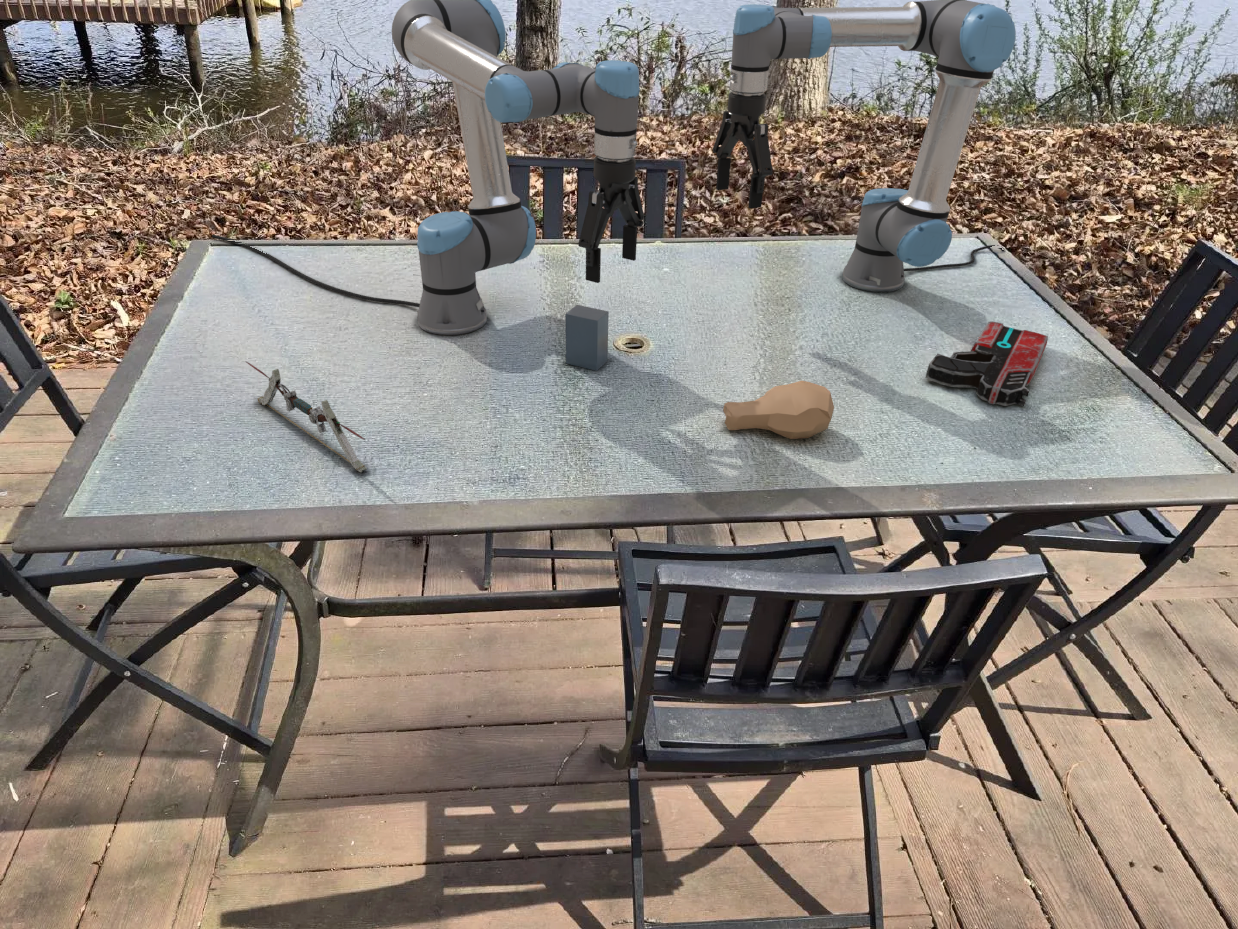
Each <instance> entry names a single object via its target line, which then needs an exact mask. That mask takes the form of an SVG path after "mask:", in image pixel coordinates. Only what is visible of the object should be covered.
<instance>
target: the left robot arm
mask: <svg viewBox="0 0 1238 929" xmlns="http://www.w3.org/2000/svg"><path fill="white" fill-rule="evenodd" d="M391 39H392V43H393V45H394V48H395V49H396V51H397V53H398V54H399V55H400V56H401V58H403V59H404V60H405V61H406V62H407V63H409V64H410V65H412V66H413V67H415V68H417V69H420V70H424V71H427V70H431V71H433V72H435V73H437V74H439V75H441V76H442V77H443V78H446V79H447V80H448V81H450V82H452V88H453V94H454V98H455V104H456V111H457V116H458V121H459V127H460V132H461V137H462V143H463V148H464V155H465V160H466V167H467V171H468V175H469V182H470V187H471V188H470V189H471V193H472V200H471V201H470V202H469V204H468V205H467V210H468V213H467V212H464V211H457V210H453V211H452V210H451V211H449V212H448V211H443V212H438V213H434V214H432V215H429V216H427V217H426V218H424V219H423V220H422V221H421V222H420V224H419V226H418V227H417V230H416V231H417V232H416V233H417V238H416V239H417V242H416V246H417V247H416V248H417V250H418V258H419V259H418V260H419V267H420V275H421V276H420V278H421V284H422V292H421V297H420V302H419V303H418V302H413V301H408V300H401V299H392V298H391V299H390V298H383V297H382V298H381V297H374V296H369V295H363V294H359V293H355V292H352V291H349V290H345V289H342V288H339V287H335V286H332V285H329V284H327V283H325V282H322V281H319V280H317V279H315V278H313V277H310V276H309V275H306V274H304V273H303V272H301V271H299V270H297V269H295V268H293V267H292V266H290V265H288V264H287V263H285V262H284V261H282V260H280V259H278V258H277V257H275V256H274V255H272V254H270V253H268V252H266V254H265V253H263V251H264V250H262V252H261V251H259V250H257V249H255V248H256V247H255V248H252V247H250V246H247V245H245V244H246V243H245V244H240V245H239V246H242V247H244V248H247V249H249V250H251V251H254V252H256V253H258V254H260V255H262V256H264V257H266V258H268V259H270V260H272V261H273V262H275V263H276V264H278V265H279V266H282V267H283V268H285V269H286V270H289V271H290V272H292V273H293V274H295V275H297V276H298V277H300V278H302V279H304V280H306V281H308V282H310V283H313V284H314V285H317V286H319V287H321V288H324V289H327V290H329V291H332V292H336V293H339V294H341V295H346V296H349V297H352V298H357V299H359V300H360V299H361V300H364V301H370V302H376V303H385V304H394V305H396V304H397V305H403V306H409V307H414V308H418V310H417V317H416V318H417V325H418V326H419V328H420V329H421V330H423V331H424V332H427V333H430V334H433V335H440V336H459V335H465V334H469V333H473V332H476V331H477V330H480V329H481V328H483V327H484V326H485V325H486V323H487V320H488V316H487V310H486V306H485V304H484V302H483V299H482V298H481V295H480V293H479V291H478V288H477V278H476V277H477V276H476V273H478V272H481V271H485V270H488V269H489V270H490V269H492V268H496V267H500V266H503V265H504V266H505V265H508V264H509V265H512V264H514V263H516V262H519V261H521V260H525V259H526V258H528V257H529V256H530V255H531V254H532V251H533V250H534V248H535V244H536V240H537V226H536V221H535V219H534V217H533V216H532V213H531V211H530V210H529V209H528V208H527V207H526V206H523V205H522V202H521V198H520V197H519V196H517V195H516V194H514V192H513V190H512V183H511V177H510V171H509V164H508V158H507V152H506V147H505V141H504V140H505V139H504V135H503V129H502V123H521V122H523V121H530V120H534V119H535V120H536V119H540V118H546V117H554V116H560V115H566V114H572V113H583V114H586V115H589V116H592V117H594V128H593V131H594V133H593V134H594V136H593V154H594V156H595V157H593V178H594V179H595V180H596V181H598V183H599V187H598V191H593V190H590V191H589V192H588V198H587V207H586V211H585V215H584V219H583V223H582V227H581V230H580V236H579V239H578V244H577V245H578V247H579V248H583V249H585V280H586V281H587V282H592V283H595V284H600V282H601V266H602V264H601V262H602V260H601V259H602V258H601V257H602V254H601V253H602V248H601V247H600V243H601V241H602V238H603V236H604V233H605V230H606V228H607V225H608V223H609V220H610V217H612V216H614V213H615V211H617V210H618V211H619V212H620V214H621V216H622V219H623V220H624V223H625V224H624V225H622V247H621V248H622V249H621V250H622V252H621V258H622V259H626V260H629V261H633V262H634V261H636V260H637V246H638V244H637V243H638V227H639V228H642V227H643V226H644V219H645V212H644V208H643V203H642V200H641V194H640V190H639V176H636V167H637V166H636V164H637V160H636V159H635V156H636V154H637V146H638V141H637V135H638V134H637V132H638V115H639V100H640V99H639V97H640V93H641V92H640V91H641V89H640V70H639V67H638V65H636V64H635V63H633V62H632V61H631V62H630V61H627V60H624V61H623V60H620V59H619V60H618V59H617V60H616V59H612V60H611V59H608V60H602V61H599V62H598V63H597V64H596V66H595V68H593V67H589V66H587V65H583V64H581V63H579V62H567V61H563V62H559V63H558V64H556V65H555V66H554V67H552V68H548V69H539V70H530V71H526V70H524V69H521V68H519V67H517V66H515V65H513V64H511V63H509V62H507V61H505V60H503V59H502V58H499V55H501V54H502V52H503V51H504V49H505V46H506V45H505V44H506V43H505V42H506V40H507V33H506V27H505V22H504V20H503V17H502V14H501V12H500V10H499V9H498V6H496V5H495V3H494V2H493V1H492V0H408V1H406V2H405V3H403V4H402V5H401V6H400V7H399V9H398V10H397V11H396V12H395V15H394V16H393V20H392V24H391ZM211 238H212V239H215V240H220V241H224V240H234V239H232V238H229V237H225V236H221V235H217V234H211ZM227 242H228V243H231V244H235V243H242V241H240V242H235V241H227ZM267 253H268V254H267Z"/></svg>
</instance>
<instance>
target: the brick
mask: <svg viewBox="0 0 1238 929" xmlns="http://www.w3.org/2000/svg"><path fill="white" fill-rule="evenodd" d="M609 314H610V312H609V311H608V310H605V309H600V308H596V307H595V308H594V307H590V306H585V305H580V304H576V305H575V306H574V307H572V308H571V309H570V310H568V311H567V312H566V313H565V315H564V316H565V317H564V318H565V321H564V322H565V326H564V327H565V364H567V365H572V366H574V367H580V368H582V369H583V368H584V369H587V370H592V371H596V372H597V371H599V369H601V368H602V367H603V366H604V365H605V364H606V363H607V362H608V358H609V317H610V316H609Z"/></svg>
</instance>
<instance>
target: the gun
mask: <svg viewBox="0 0 1238 929" xmlns="http://www.w3.org/2000/svg"><path fill="white" fill-rule="evenodd" d="M1048 340H1049V336H1048V335H1046V334H1042V333H1039V332H1036V331H1031V330H1028V329H1018V328H1014V327H1010V326H1006V325H1004V323H1002V322H998V321H993V320H992V321H990V320H989V321H987V323H986V325H985V326H984V327H983V330H982V331H981V332H980V334H979V336H978V337H977V339H976V341H975V342H974V343H973V346H972V347H971V349H970V351H969V350H968V351H954V352H953V353H952V354H951V356H950V357H949V356H946V355H944V354H942V353H941V354H940V353H936V354H935V355H934V357H933V358H932V360H931V361H930V362H929V363H928V366H927V370H926V373H925V379H926V380H929V381H931V382H933V383H937V384H939V385H942V386H947V387H950V388H974V389H976V393H975V394H976V395H977V396H978V398H980V399H981V400H982V401H986V402H987V403H988V404H990V405H995V404H996V405H1000V406H1003V407H1007V406H1011V405H1017V406H1021V407H1025V405H1026V402H1027V400H1026V399H1025V398H1024V397H1028V396H1029V395H1030V394H1029V393H1030V389H1029V388H1027V387H1028V386H1029V385H1030V383H1031V381H1032V380H1033V379H1034V376H1035V375H1036V372H1037V370H1038V368H1039V365H1040V362H1041V359H1042V357H1043V355H1044V352H1045V350H1046V347H1047V345H1048Z"/></svg>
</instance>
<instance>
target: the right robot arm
mask: <svg viewBox="0 0 1238 929" xmlns="http://www.w3.org/2000/svg"><path fill="white" fill-rule="evenodd" d="M1016 32H1017V31H1016V24H1015V22H1014V21H1013V18H1012V16H1011V15H1010V14H1009V12H1007V10H1005V9H1003V8H1002V7H999V6H996V5H994V4H990V3H984V2H977V1H972V0H920V1H918V0H917V1H908V2H905V3H904V4H903V6H860V7H857V6H856V7H854V6H852V7H851V6H850V7H849V6H848V7H846V6H845V7H844V6H843V7H840V6H839V7H837V6H835V7H777V6H775V5H768V4H755V3H751V4H748V3H747V4H742V5H740V6H739V7H737V9H736V12H735V17H734V23H733V29H732V49H731V63H730V75H729V86H728V88H729V90H730V92H729V93H728V97H727V98H728V99H727V100H728V101H727V110H725V111H723V112H722V113H723V114H722V119H721V123H720V126H719V129H718V132H717V135H716V139H715V141H714V144H713V147H712V153H714V154H716V158H717V168H716V170H717V173H716V183H715V184H716V187H715V190H716V191H724V190H725V191H726V190H729V187H730V178H731V177H730V175H731V163H732V158H731V157H732V154H731V153H732V152H733V150H734V148H735V147H736V145H737V144H738V142H739V141H740V142H741V143H742V145H743V146H744V147H746V151H747V154H748V157H749V162H750V165H751V169H752V174H751V176H750V185H749V196H748V205H747V206H748V209H749V210H750V209H751V210H752V209H757V208H758V209H759V208H762V204H763V194H764V191H765V181H766V177H767V176H772V175H773V173H774V171H773V164H772V156H771V150H770V141H769V124H768V123H760V116H761V115H763V114H765V111H766V104H767V103H766V102H767V95H766V92H767V91H768V83H769V73H770V65H771V64H770V63H771V60H789V59H790V60H793V59H807V60H811V59H817V58H822V57H824V56H825V55H826V54H827V53H828V52H829V49H830V48H851V47H852V48H853V47H855V48H857V47H898V49H900V50H901V51H903V52H918V53H923V54H927V55H930V56H934V57H937V63H936V66H935V70H934V72H935V74H936V76H937V77H938V80H939V81H938V85H937V89H936V93H935V96H934V100H933V103H932V107H931V110H930V113H929V117H928V120H927V124H926V128H925V129H924V130H925V131H924V134H923V138H922V141H921V144H920V148H919V152H918V156H917V158H916V161H915V165H914V169H913V172H912V176H911V179H910V183H909V187H908V189H903V188H893V187H892V188H891V187H883V188H882V187H880V188H873V189H869V190H868V191H866V192H865V193H864V197H863V199H862V203H861V205H860V207H861V211H860V215H859V216H860V217H859V220H858V221H859V222H858V226H857V233H856V239H855V245H854V248H853V252H852V253H851V255H850V256H849V259H848V261H847V263H846V265H845V266H844V268H843V271H842V275H841V279H842V281H843V282H844V283H845V284H847V285H848V286H851V287H852V288H854V289H858V290H861V291H865V292H874V293H889V292H896V291H898V290H900V289H902V288H903V286H904V283H905V276H906V275H905V272H916V271H927V270H935V269H943V268H954V267H965V266H969V265H971V264H973V263H974V262H975V253H976V252H980V251H984V250H986V249H991V248H990V247H992V246H995V245H997V246H999V245H998V244H989V245H985V246H981V247H978V248H975V249H973V250H972V251H971V252H970V258H971V260H969V261H967V262H960V263H948V264H939V265H932V264H934V263H935V262H936V261H937V260H940V259H941V258H942V257H943V256H944V255H945V253H947V251H948V250H949V248H950V245H951V243H952V240H953V233H952V232H953V231H952V230H951V227H950V225H949V224H948V222H947V221H948V218H949V215H950V212H951V207H950V204H949V203H948V201H947V198H948V195H949V192H950V188H951V185H952V183H953V179H954V176H955V174H956V173H955V172H956V169H957V167H958V163H959V159H960V157H961V153H962V150H963V146H964V145H965V144H964V143H965V140H966V138H967V134H968V130H969V128H970V125H971V121H972V118H973V114H974V113H975V112H974V111H975V108H976V105H977V101H978V98H979V95H980V93H981V89H982V87H983V86H985V85H986V84H988V83H989V82H990V81H992V79H993V75H994V72H995V70H997V69H999V68H1001V67H1002V66H1003V63H1005V62H1007V61H1008V59H1010V56H1011V55H1012V52H1013V50H1014V48H1015V44H1016V38H1017V37H1016V36H1017V33H1016ZM1002 248H1003V249H1004V250H1005V248H1004V247H1002ZM1002 248H998V249H999V250H1000V251H1001V252H1004V251H1003V250H1002ZM904 263H905V264H908V265H909V266H912V267H910V268H904ZM930 265H931V266H930Z"/></svg>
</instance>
